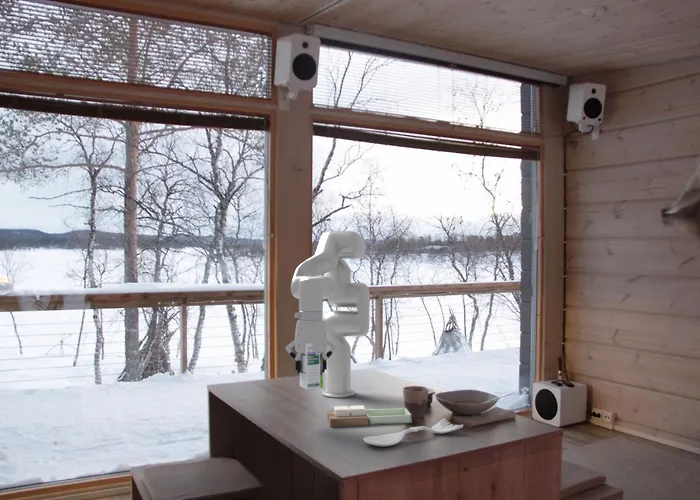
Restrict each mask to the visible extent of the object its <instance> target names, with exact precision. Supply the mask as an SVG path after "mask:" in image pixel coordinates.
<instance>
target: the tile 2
mask: <svg viewBox="0 0 700 500" xmlns="http://www.w3.org/2000/svg"><path fill="white" fill-rule="evenodd" d="M349 409H350V414H351V416H358V415H365V410H366V408H365V406H364V405H349Z"/></svg>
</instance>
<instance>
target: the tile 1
mask: <svg viewBox="0 0 700 500" xmlns="http://www.w3.org/2000/svg"><path fill="white" fill-rule="evenodd" d="M333 411H334V413H335V416H350V406H348V405H339V406H337V405H335V406H333Z"/></svg>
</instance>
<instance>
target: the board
mask: <svg viewBox="0 0 700 500" xmlns="http://www.w3.org/2000/svg"><path fill="white" fill-rule="evenodd" d="M326 415H327V417H326V418H327V422H328V425H329V427H330V428H334V427H335V428H339V427H359V426H360V427H362V426H364V427H365V426H369V423H368V416H367V414H366V413H365V415H358V416H351V414H350V416H335V413H334V410H327V411H326Z"/></svg>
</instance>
